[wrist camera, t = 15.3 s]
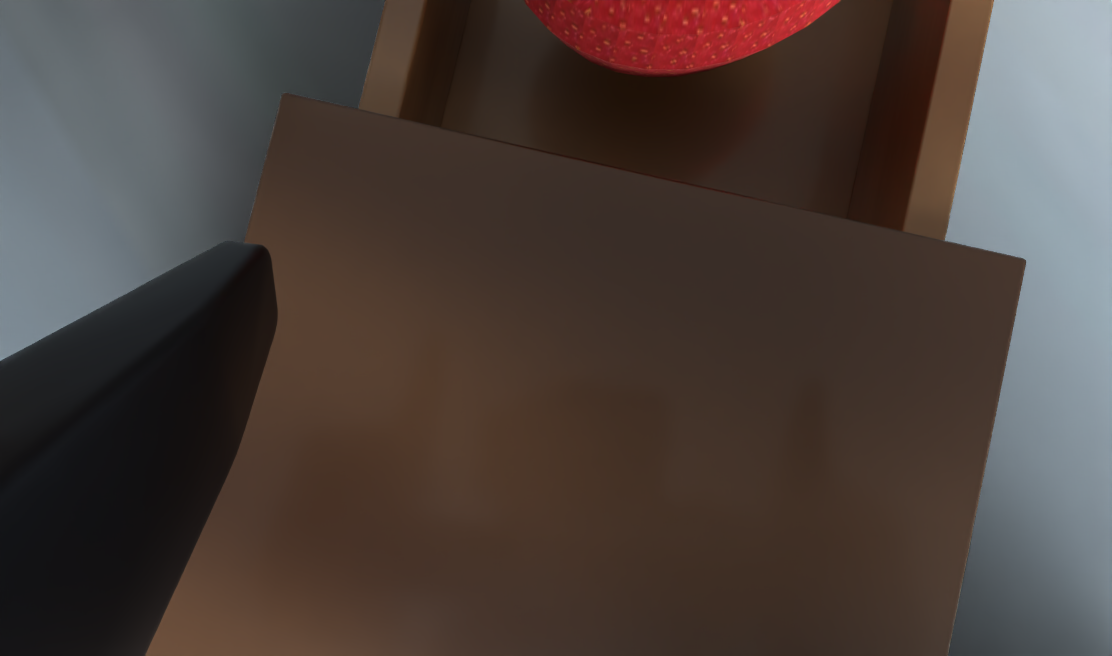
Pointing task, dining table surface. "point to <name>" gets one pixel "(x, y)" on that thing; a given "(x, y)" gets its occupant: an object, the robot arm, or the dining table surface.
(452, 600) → the cabinet
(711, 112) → the drawer
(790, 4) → the strawberry
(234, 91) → the dining table surface
